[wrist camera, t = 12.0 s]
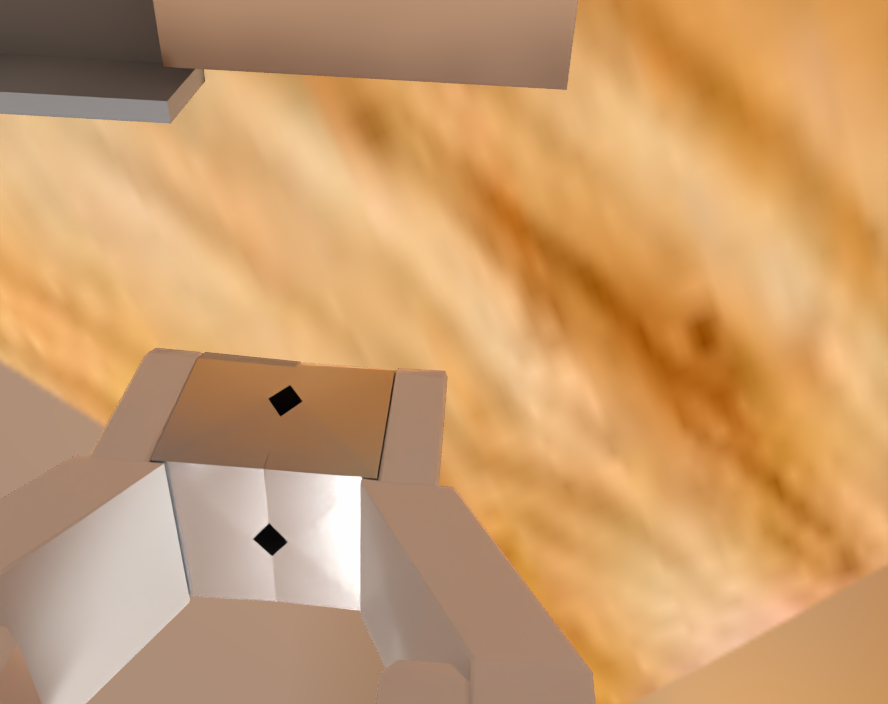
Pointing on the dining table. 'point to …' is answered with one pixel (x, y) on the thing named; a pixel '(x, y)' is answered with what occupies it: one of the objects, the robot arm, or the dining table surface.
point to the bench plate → (375, 39)
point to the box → (88, 62)
